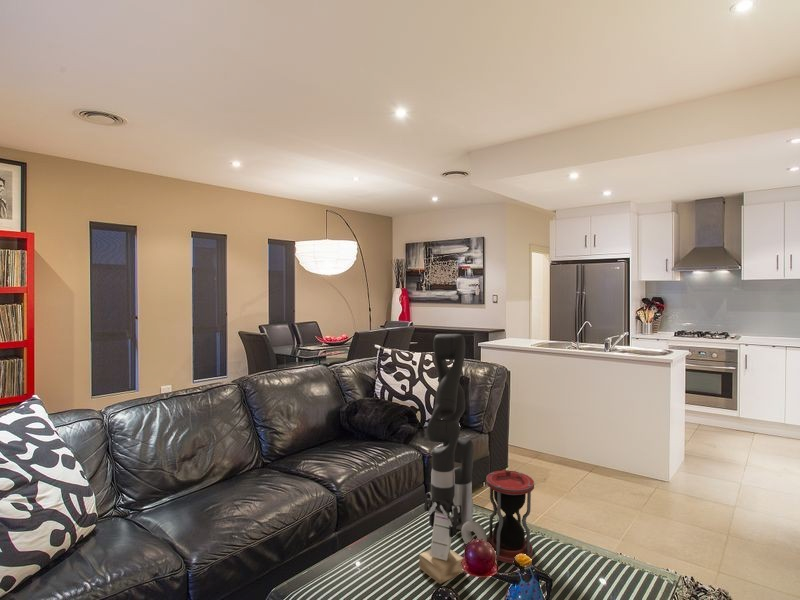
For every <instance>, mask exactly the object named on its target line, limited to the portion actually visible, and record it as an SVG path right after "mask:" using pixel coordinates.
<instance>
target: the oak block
mask: <svg viewBox="0 0 800 600" xmlns="http://www.w3.org/2000/svg"><path fill="white" fill-rule="evenodd" d="M430 550H431V548H429V549H428V550H425V551H423V552H421V553H419V558H418V559H419V562H418V563H419V565H418V566H419V569H420V570H421V571H422V572H424V573H425V574H426V575H428V576H429V577H430V578H431V579H433V580H434V581H435V582H436V583H438V584H439V585H441V584H443V583H445V582H447V581H449V580H451V579H452V578H453V579H454V577H456V576H459V575H460V574H463V573H464V569H463V570H462V566H461V561H462V559H463V558H464V557H463V556H461V555H460V554H458V553H457V552H455V551H454V550H452V549H451V548H450V553H449V556H448V559H447V561H445V560H441V559H438V558H434V557H432V556H430ZM463 560H464V559H463Z"/></svg>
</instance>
